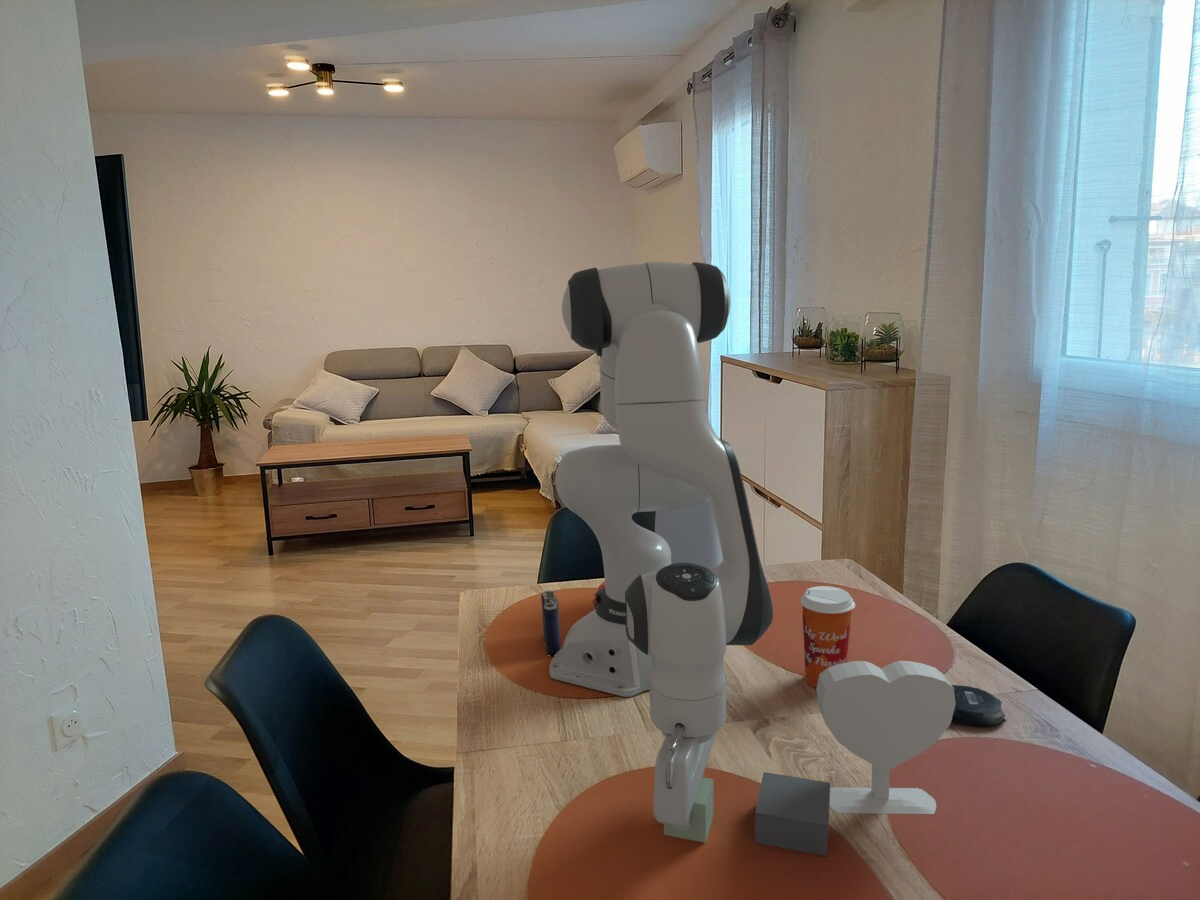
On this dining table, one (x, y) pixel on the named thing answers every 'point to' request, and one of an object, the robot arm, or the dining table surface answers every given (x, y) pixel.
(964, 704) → the black rounded flattened block
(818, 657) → the coffee cup
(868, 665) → the heart sculpture
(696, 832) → the green cube
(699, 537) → the grey-blue container
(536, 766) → the dining table surface
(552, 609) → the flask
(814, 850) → the charcoal block
